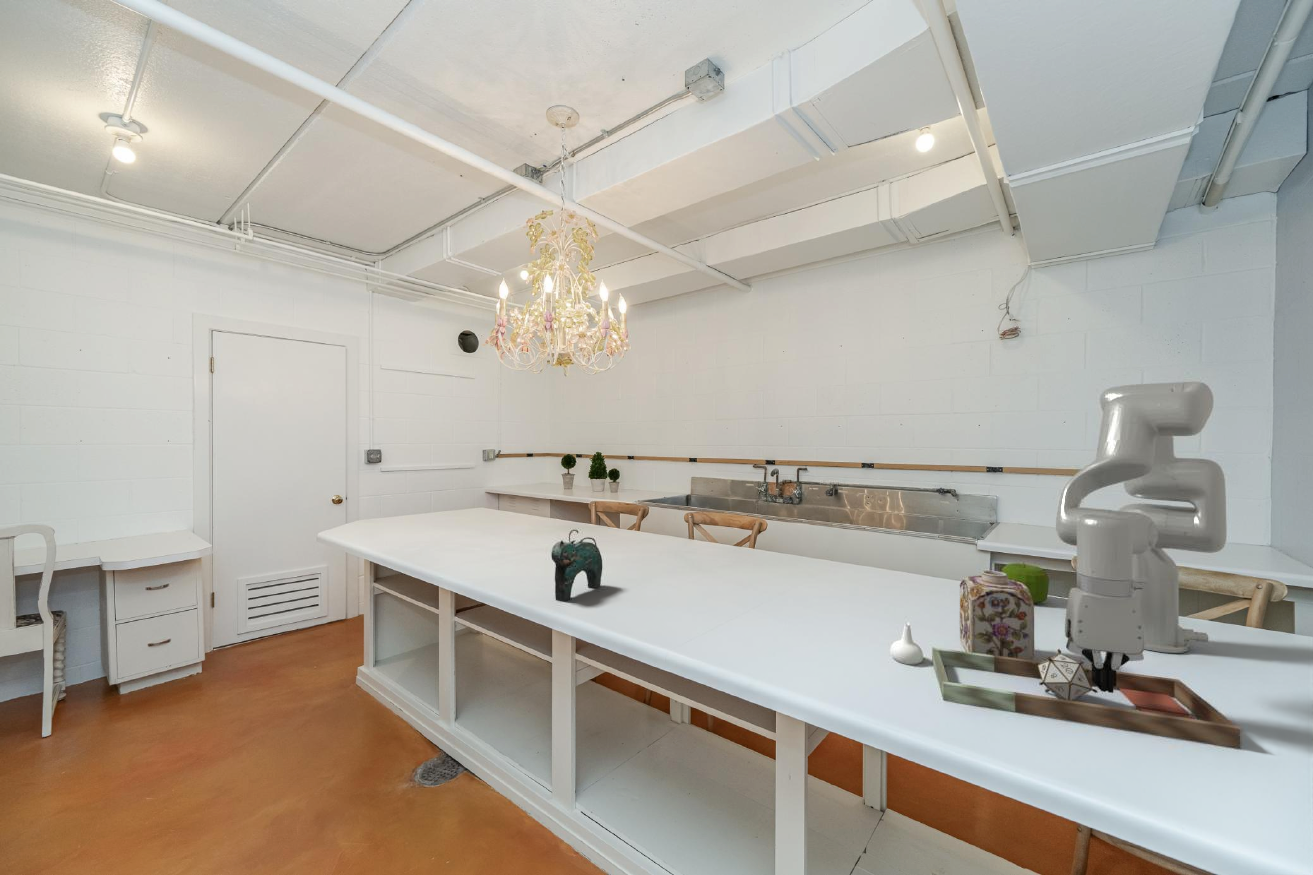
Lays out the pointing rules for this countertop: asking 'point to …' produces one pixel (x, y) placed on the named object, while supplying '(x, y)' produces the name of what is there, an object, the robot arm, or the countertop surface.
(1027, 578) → the apple
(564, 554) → the teal animal figurine
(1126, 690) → the rectangular wooden frame
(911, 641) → the garlic bulb
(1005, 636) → the decorative jar
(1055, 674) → the game die
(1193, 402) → the robot arm
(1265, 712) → the countertop surface
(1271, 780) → the countertop surface
